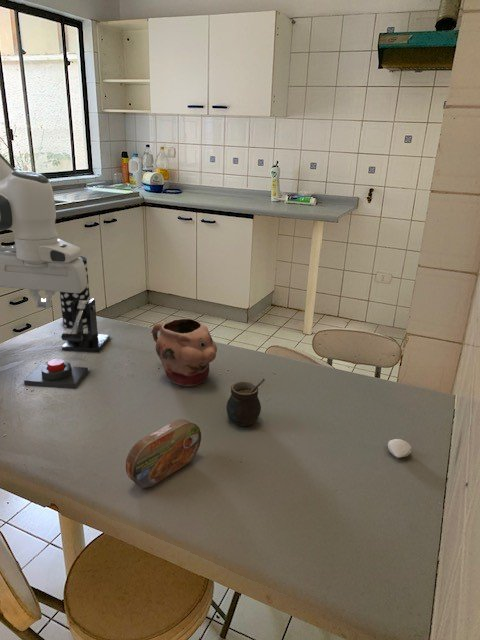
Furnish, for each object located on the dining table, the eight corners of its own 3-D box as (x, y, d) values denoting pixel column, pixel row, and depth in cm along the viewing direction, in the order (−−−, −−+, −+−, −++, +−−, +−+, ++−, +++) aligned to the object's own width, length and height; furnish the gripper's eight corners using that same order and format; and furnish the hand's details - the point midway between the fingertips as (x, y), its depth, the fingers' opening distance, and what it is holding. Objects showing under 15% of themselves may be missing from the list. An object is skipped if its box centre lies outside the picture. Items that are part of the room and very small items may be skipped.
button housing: (24, 385, 107) (22, 373, 105) (40, 368, 114) (39, 357, 113) (75, 388, 106) (74, 377, 105) (88, 371, 113) (87, 360, 112)
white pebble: (410, 450, 90) (413, 440, 89) (408, 466, 85) (410, 455, 85) (388, 444, 91) (390, 433, 90) (384, 459, 87) (386, 448, 86)
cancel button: (45, 371, 107) (44, 365, 107) (52, 364, 111) (51, 358, 110) (60, 372, 107) (59, 366, 107) (66, 365, 111) (66, 359, 110)
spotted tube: (97, 323, 141) (92, 259, 134) (72, 331, 135) (65, 264, 128) (82, 316, 146) (76, 254, 139) (58, 323, 140) (50, 258, 133)
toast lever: (82, 342, 118) (79, 337, 116) (63, 341, 118) (60, 336, 116) (95, 306, 125) (92, 300, 123) (76, 305, 125) (74, 299, 123)
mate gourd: (222, 412, 100) (224, 371, 96) (257, 409, 101) (259, 368, 97) (229, 432, 93) (230, 388, 89) (265, 428, 95) (268, 386, 91)
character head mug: (134, 374, 113) (131, 321, 108) (166, 355, 123) (165, 307, 118) (200, 399, 104) (200, 343, 99) (229, 377, 114) (231, 325, 108)
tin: (135, 497, 76) (132, 455, 73) (124, 487, 78) (121, 446, 74) (202, 455, 86) (202, 416, 83) (191, 447, 88) (191, 409, 85)
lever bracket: (99, 352, 123) (95, 307, 118) (62, 350, 124) (56, 305, 119) (109, 338, 132) (106, 296, 127) (75, 336, 132) (70, 294, 127)
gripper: (-17, 248, 100) (-8, 308, 105) (76, 255, 99) (81, 315, 104) (-1, 242, 105) (7, 299, 111) (87, 248, 105) (91, 306, 110)
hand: (44, 307), depth 107 cm, fingers closed
